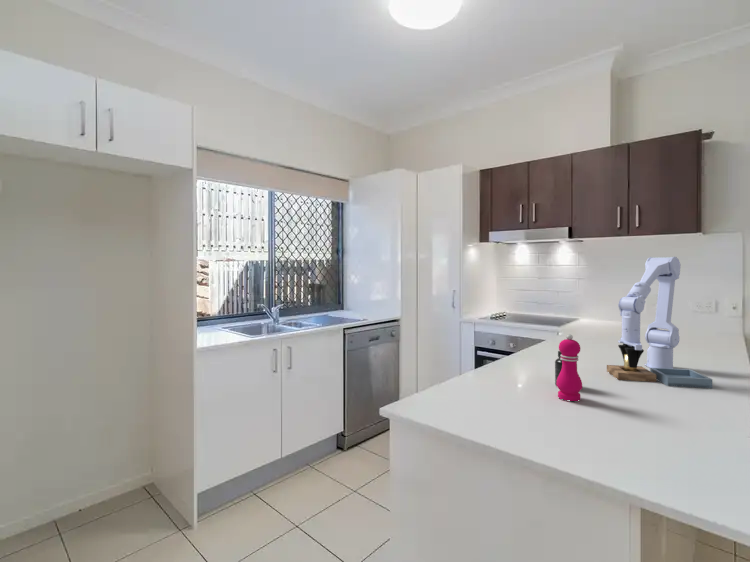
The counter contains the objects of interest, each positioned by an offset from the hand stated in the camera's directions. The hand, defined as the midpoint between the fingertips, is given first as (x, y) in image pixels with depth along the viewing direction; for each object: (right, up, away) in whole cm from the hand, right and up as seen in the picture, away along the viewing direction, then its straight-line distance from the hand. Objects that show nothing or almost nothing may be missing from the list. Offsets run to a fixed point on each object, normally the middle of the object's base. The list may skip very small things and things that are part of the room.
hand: (630, 365), depth 146 cm
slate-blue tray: (+13, -4, -7) cm, 15 cm away
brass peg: (0, -4, 0) cm, 4 cm away
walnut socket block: (0, -4, 0) cm, 4 cm away
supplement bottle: (-29, -5, -11) cm, 32 cm away
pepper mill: (-34, -5, -24) cm, 42 cm away
